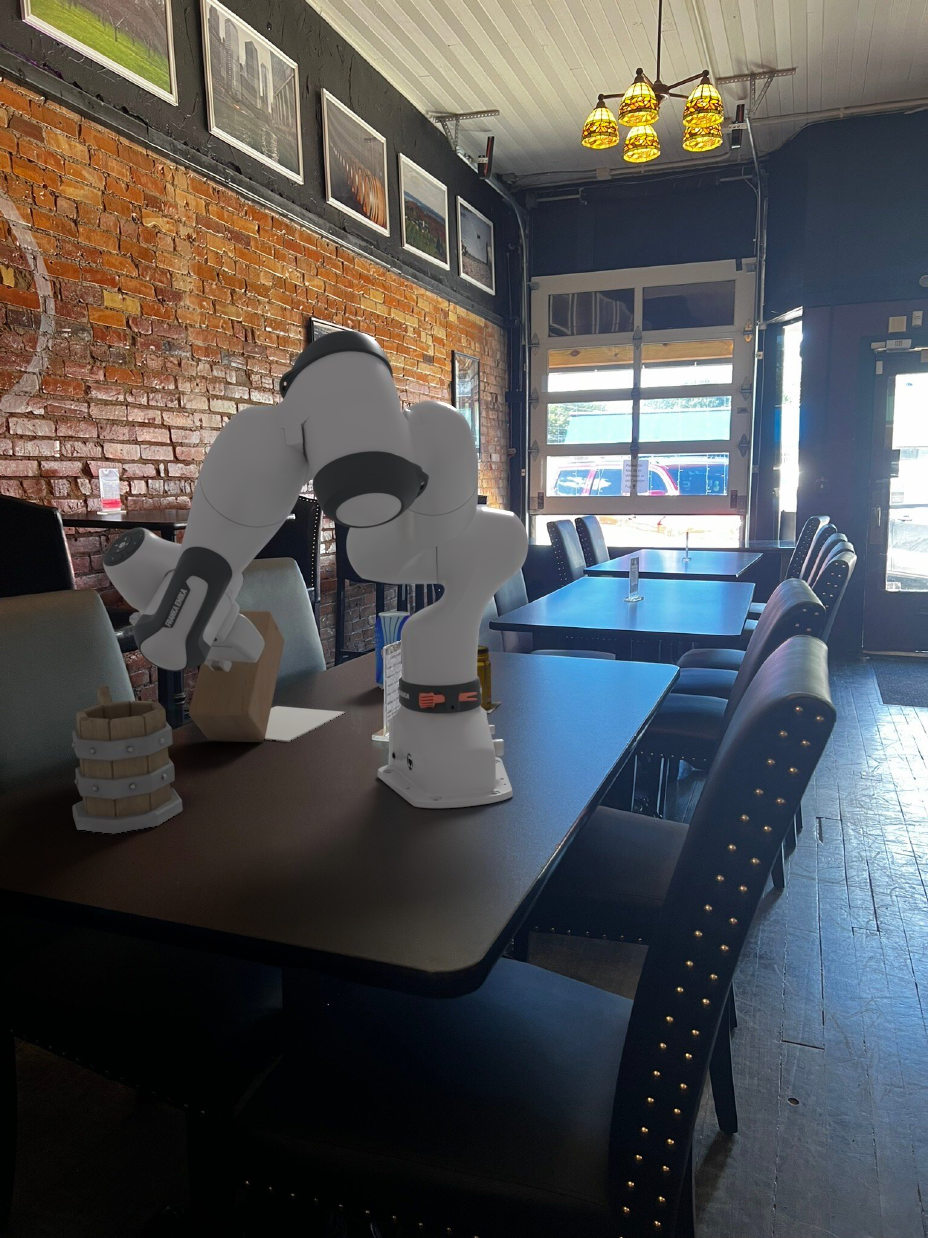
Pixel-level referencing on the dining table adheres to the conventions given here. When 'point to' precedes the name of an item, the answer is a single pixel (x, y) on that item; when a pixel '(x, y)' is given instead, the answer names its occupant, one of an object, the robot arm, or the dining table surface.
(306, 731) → the mat
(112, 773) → the tankard
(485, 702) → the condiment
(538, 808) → the dining table surface
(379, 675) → the beer can
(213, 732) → the wooden block
